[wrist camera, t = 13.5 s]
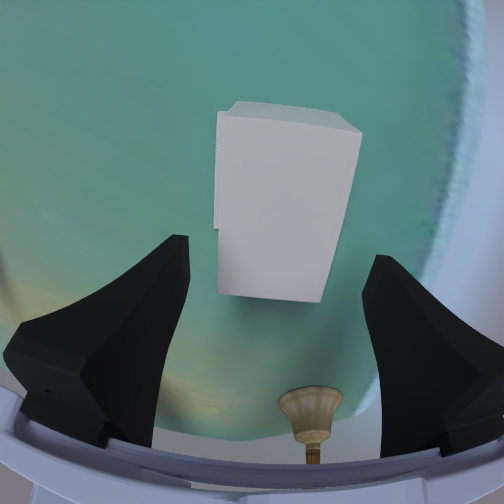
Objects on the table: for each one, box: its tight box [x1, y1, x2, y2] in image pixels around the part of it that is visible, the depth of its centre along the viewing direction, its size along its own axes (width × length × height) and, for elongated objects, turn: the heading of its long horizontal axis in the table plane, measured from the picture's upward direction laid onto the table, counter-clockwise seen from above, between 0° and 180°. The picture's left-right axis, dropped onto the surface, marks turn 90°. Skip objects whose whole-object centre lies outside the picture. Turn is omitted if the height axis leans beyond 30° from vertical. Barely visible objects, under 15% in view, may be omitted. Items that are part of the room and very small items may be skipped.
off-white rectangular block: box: [218, 101, 363, 303], centre depth 16 cm, size 10×6×6 cm, turn 175°
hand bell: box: [278, 386, 343, 489], centre depth 28 cm, size 8×8×16 cm
